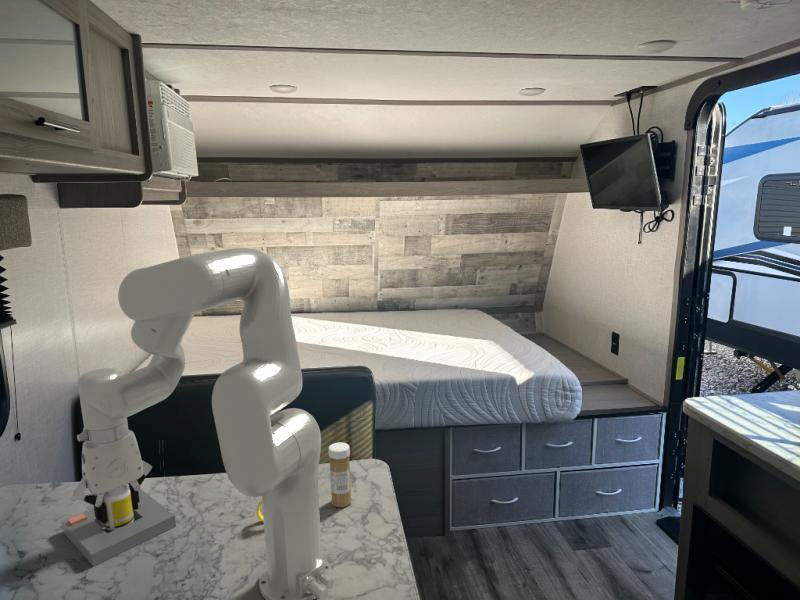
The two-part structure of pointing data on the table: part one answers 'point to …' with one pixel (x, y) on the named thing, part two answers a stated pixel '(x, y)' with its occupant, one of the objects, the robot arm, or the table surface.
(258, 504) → the watch
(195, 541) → the table surface
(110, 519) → the supplement bottle
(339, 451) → the sprinkles bottle
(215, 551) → the table surface
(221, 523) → the table surface
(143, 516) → the block with square hole
